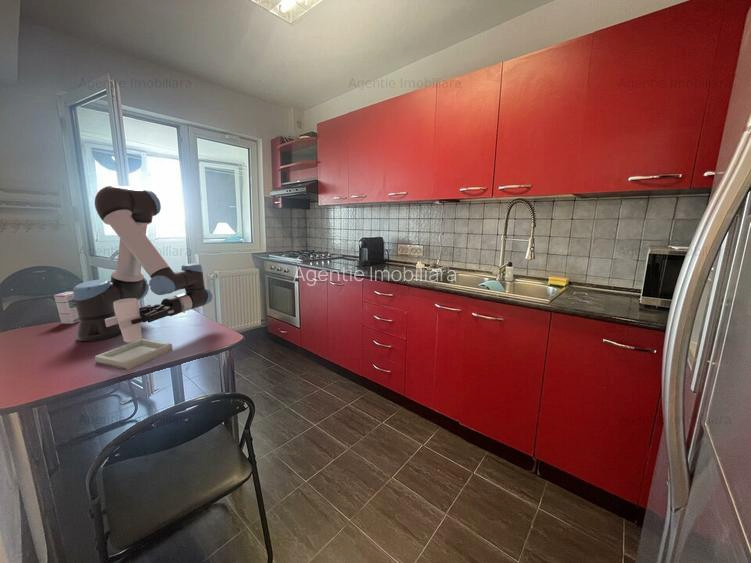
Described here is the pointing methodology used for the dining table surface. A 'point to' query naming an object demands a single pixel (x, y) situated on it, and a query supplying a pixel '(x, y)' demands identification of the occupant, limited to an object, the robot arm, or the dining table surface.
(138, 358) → the tray
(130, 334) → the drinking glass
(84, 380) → the dining table surface
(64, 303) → the syrup box
